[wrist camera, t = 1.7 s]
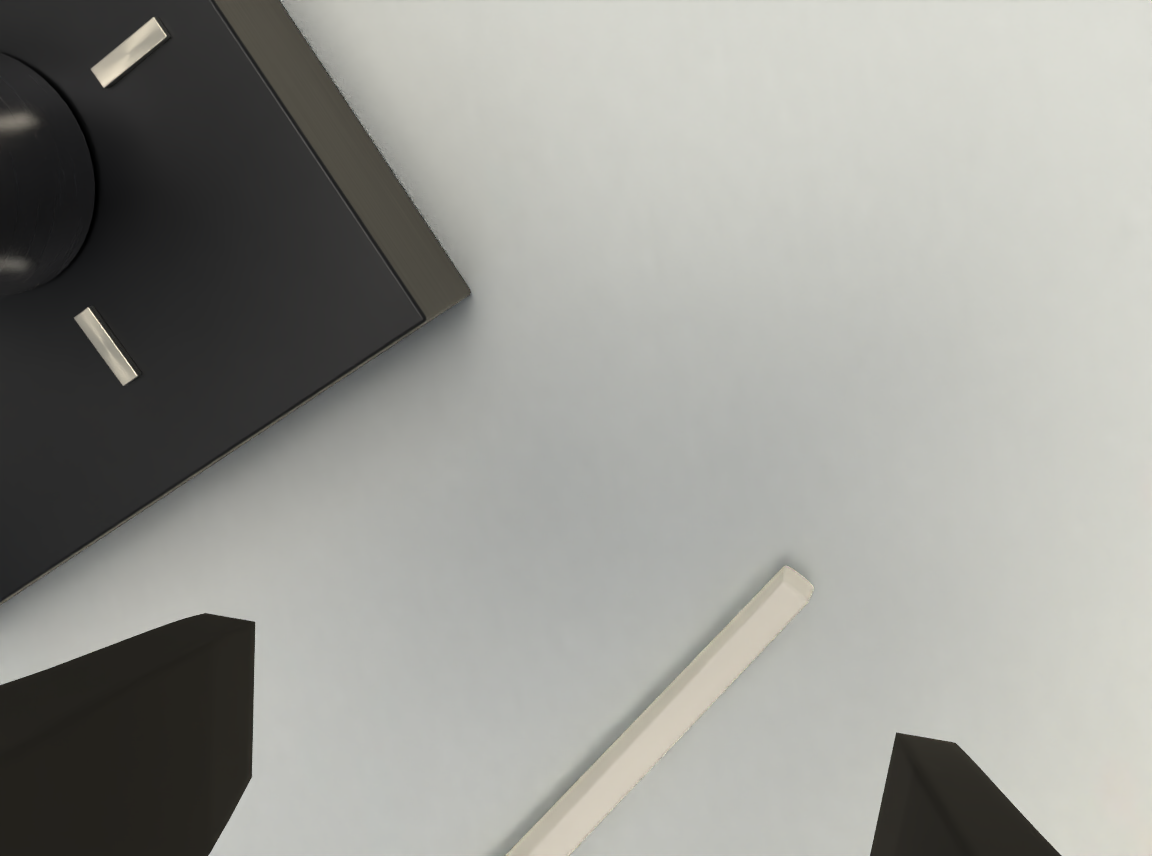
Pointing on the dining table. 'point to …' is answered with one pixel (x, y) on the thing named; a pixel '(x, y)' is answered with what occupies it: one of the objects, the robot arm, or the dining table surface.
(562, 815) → the fork
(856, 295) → the dining table surface
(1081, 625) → the dining table surface
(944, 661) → the dining table surface
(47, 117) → the hob knob
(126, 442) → the black knob base
